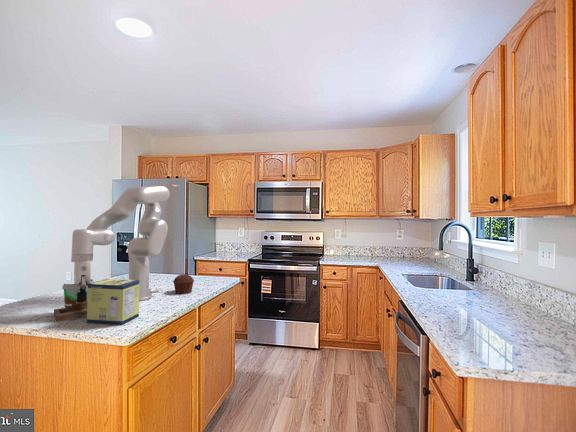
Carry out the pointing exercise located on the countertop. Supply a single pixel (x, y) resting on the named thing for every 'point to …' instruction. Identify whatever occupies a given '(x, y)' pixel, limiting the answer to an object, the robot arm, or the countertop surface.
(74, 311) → the base plate
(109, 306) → the protein box
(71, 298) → the food container
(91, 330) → the countertop surface
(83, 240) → the robot arm
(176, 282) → the muffin
